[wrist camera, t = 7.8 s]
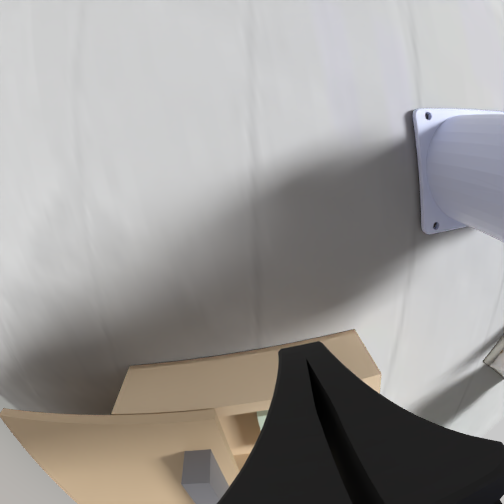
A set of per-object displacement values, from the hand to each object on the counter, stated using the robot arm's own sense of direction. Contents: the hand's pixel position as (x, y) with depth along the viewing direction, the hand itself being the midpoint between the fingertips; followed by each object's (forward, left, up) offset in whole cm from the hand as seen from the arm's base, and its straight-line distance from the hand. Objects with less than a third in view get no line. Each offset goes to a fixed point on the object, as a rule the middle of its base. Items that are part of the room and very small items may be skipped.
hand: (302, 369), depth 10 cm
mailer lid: (+13, +12, -5) cm, 18 cm away
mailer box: (+3, +12, -10) cm, 16 cm away
